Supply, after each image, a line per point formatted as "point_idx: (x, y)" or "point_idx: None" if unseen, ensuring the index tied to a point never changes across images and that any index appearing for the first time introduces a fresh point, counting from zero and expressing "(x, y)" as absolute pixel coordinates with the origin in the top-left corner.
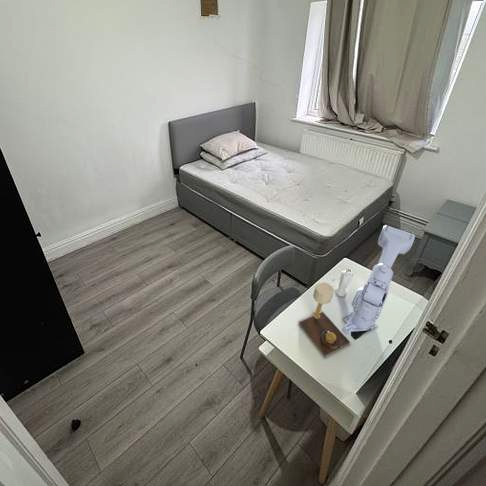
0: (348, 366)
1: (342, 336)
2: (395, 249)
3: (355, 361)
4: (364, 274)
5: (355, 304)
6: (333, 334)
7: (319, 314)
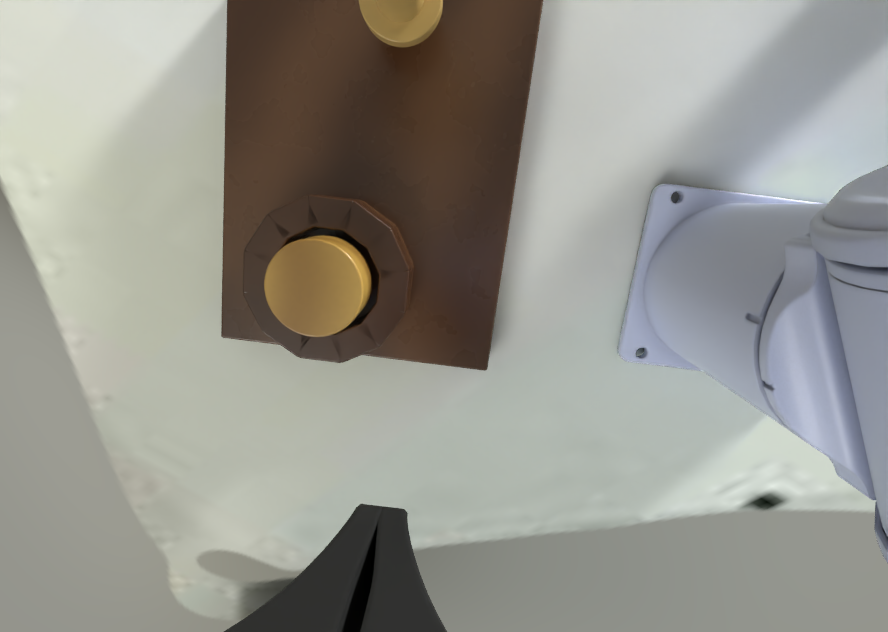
0: (339, 458)
1: (476, 304)
2: None
3: (411, 462)
4: None
5: (880, 280)
6: (348, 288)
7: (434, 10)
